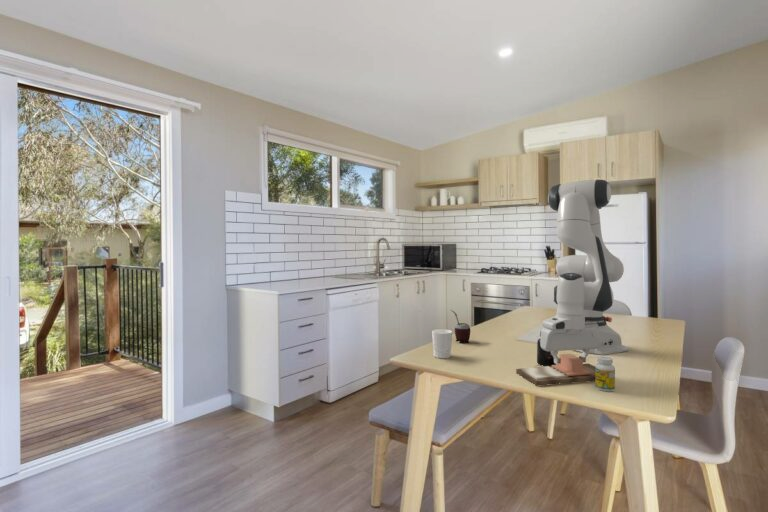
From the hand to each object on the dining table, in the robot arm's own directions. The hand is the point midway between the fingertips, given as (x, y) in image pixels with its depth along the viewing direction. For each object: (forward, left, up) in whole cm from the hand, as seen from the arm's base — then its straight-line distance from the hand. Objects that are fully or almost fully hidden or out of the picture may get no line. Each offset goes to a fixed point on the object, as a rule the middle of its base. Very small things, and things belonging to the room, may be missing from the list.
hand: (569, 362), depth 143 cm
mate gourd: (+18, -52, -5) cm, 56 cm away
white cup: (+34, -33, -5) cm, 47 cm away
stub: (0, 0, -3) cm, 3 cm away
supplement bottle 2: (-3, +13, -5) cm, 14 cm away
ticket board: (+2, 0, -4) cm, 5 cm away
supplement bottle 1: (0, -14, -5) cm, 14 cm away
